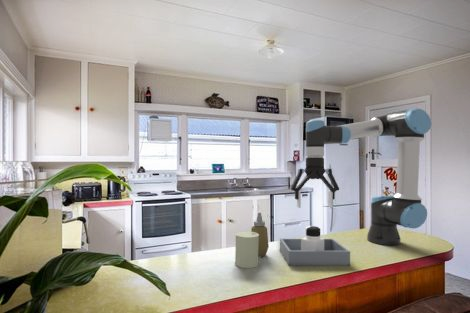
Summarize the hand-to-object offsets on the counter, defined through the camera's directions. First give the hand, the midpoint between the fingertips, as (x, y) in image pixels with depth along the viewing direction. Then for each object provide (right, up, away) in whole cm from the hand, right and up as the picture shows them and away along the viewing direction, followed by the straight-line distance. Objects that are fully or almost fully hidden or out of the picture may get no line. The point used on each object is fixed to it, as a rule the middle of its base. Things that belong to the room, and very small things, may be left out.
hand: (314, 207), depth 126 cm
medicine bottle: (-1, -20, -2) cm, 20 cm away
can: (-29, -21, -10) cm, 37 cm away
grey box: (-1, -21, -2) cm, 21 cm away
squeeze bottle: (-24, -21, 0) cm, 31 cm away
